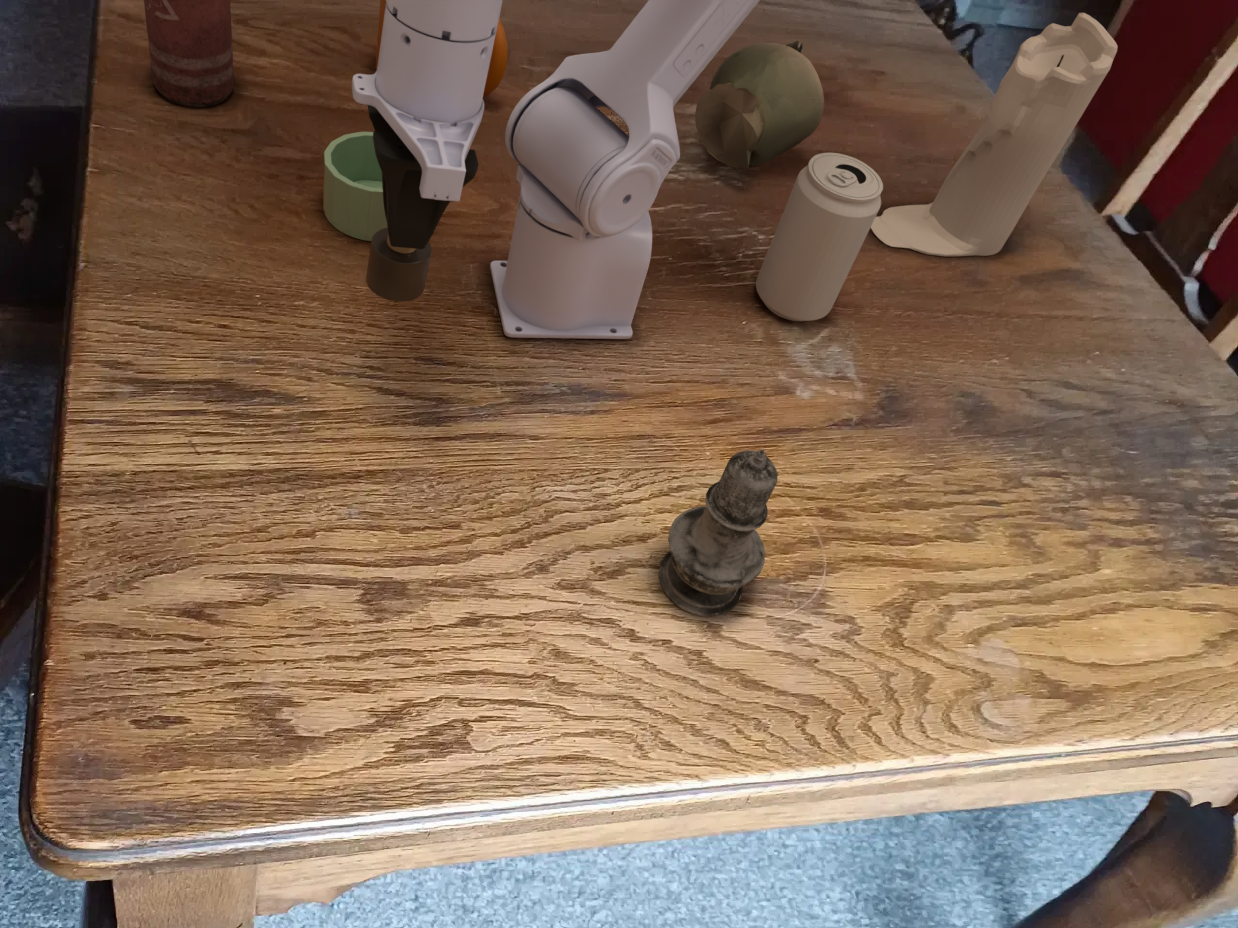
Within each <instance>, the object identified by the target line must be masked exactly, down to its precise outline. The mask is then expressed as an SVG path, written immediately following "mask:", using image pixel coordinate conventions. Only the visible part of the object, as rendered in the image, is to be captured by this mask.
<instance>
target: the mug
mask: <svg viewBox="0 0 1238 928" xmlns="http://www.w3.org/2000/svg"><path fill="white" fill-rule="evenodd" d="M385 6H386V0H380V1H379V12H378V13H379V14H378V29H377V40H376V41H377V43H376V55H375V67H374V68H375V72H376V71H377V66H378V59H379V51H380V44H381V36H382V29H383V21H384V14H385ZM508 54H509V53H508V40H507V36H506V31H505V28H504V26H503V23H502V21H501V19H500V18H499V21H498V26H497V31H496V36H495V40H494V45H493V51H492V55H491V60H490V65H489V70H488V74H487V79H486V84H485V89H484V93H483V98H485V97H487V96H489V95H490V94H492V93H493V92H494V91H495V90H496V89H497V88H498V87H499V86H500V83H501V82H502V80H503V78H504V75H505V72H506V69H507V63H508Z"/></svg>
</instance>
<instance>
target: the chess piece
mask: <svg viewBox="0 0 1238 928" xmlns="http://www.w3.org/2000/svg"><path fill="white" fill-rule="evenodd" d="M778 475H779V474H778V471H777V468H776V466H775V464H774V462H773V461H772V460H771V459H770V458H769V457H767V454H766V452H765V450H764V449H760V450H756V451H755V450H741V451H739V452H737V453H734V454H733V455H732V456H731V457H730V458H729V459H728V462H727V464H726V465H725V467H724V470H723V472H722V474H721V476H720V479H719V481H717V482H715V483H713V484H712V485H711V486H710V487H708V489H707V491H706V493H705V497H704V498H705V499H704V500H705V505H702V506H696V507H691V508H689V509H686V510H684V511H682V512H681V513H680V514H678V516H676V517H675V518H674V520H673V521H672V524H671V525H670V527H669V531H668V537H667V541H668V546H669V551H668V552H667V553H666V554H665V555H664V556H663V558H662V560H661V562H660V564H659V568H658V578H659V583H660V586H661V588H662V590H663V593H664V594H665V595H666V596H667V598H668V599H669V600H670V602H672V603H673V604H674V605H676V606H677V607H678V608H679V609H681V610H683V611H685V612H687V613H688V614H692V615H695V616H698V617H705V618H706V617H708V618H709V617H710V618H714V617H718V616H723V615H725V614H727V613H729V612H730V611H732V610H733V609H735V607H736V606H737V605H738V604H739V602H740V600H741V597H742V596H743V590H744V586H746V585H747V584H749V583H751V582H753V581H754V580H755V579H756V578H757V577H758V576H759V575H760V574H761V573H762V570H763V568H764V566H765V562H766V549H765V546H764V542H763V540H762V539H761V536H760V535H759V533H758V531H757V530H758V529H759V528H761V527H762V526H763V525H764V524H765V522H766V520H767V518H768V511H769V509H768V505H767V503H768V501H769V499H770V497H771V496H772V494H773V491H774V490H775V487H776V486H777V484H778Z"/></svg>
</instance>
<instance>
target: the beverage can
mask: <svg viewBox="0 0 1238 928" xmlns="http://www.w3.org/2000/svg"><path fill="white" fill-rule="evenodd" d="M883 190H884V183H883V181H882V178H881V177H880V175H879V174H878V173H877V171H875V170H874V169H873V168H872V167H871V166H870V165H868V164H866V163H865V162H863V161H862V160H860V159H857V158H855V157H853V156H850V155H847V154H843V153H839V152H822V153H818V154H815V155H813V157H811V158H810V159H809V162H808V164H807V165H806V166H804V167H803V168H802V169H801V170H800V171H799V172H798V174H797V177H796V179H795V182H794V185H793V187H792V190H791V192H790V195H789V197H788V200H787V202H786V204H785V208H784V209H783V212H782V215H781V217H780V219H779V221H778V224H777V227H776V229H775V231H774V235H773V236H772V240H771V242H770V244H769V247H768V250H767V252H766V255H765V257H764V260H763V262H762V265H761V267H760V270H759V272H758V275H757V277H756V280H755V288H756V292H757V295H758V296H759V298H760V299H761V301H762V302H763V304H764V305H765V306H766V308H767V309H768V310H769V311H770V312H771V313H773V314H775V315H776V316H778V317H780V318H782V319H785V320H789V321H791V322H810V321H811V322H813V321H817V320H820V319H822V318H825V317H826V316H827V315H829V313H830V312H831V310H832V309H833V307H834V305H835V302H836V300H837V298H838V296H839V294H840V292H841V291H842V288H843V286H844V283H845V282H846V280H847V277H848V275H849V273H850V271H851V270H852V267H853V265H854V263H855V261H856V259H857V257H858V254H859V252H860V250H861V248H862V246H863V244H864V242H865V240H866V238H867V236H868V234H869V232H870V229H871V225H872V223H873V221H874V219H875V217H877V215H878V213H879V211H880V208H881V205H882V199H881V194H882V192H883Z"/></svg>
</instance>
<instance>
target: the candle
mask: <svg viewBox="0 0 1238 928" xmlns="http://www.w3.org/2000/svg"><path fill="white" fill-rule="evenodd" d="M1117 52H1118V44H1117V42H1116V41H1115V40H1114V38H1113V37H1112V35H1110V34H1109V32H1108V31H1107V30H1106V28H1105V26H1103V25H1102V24H1101V23H1100V22H1099V21H1098V20H1097V19H1095V18H1094V17H1092V16H1091V15H1089V14H1087V13H1085V12H1079V13H1078V14H1077V16H1076V17H1075V19H1074V20H1073V22H1072V24H1071V25H1067V26H1064V25H1061V24H1057V23H1053V22H1052V23H1050V24H1048V25H1047V26H1046V27H1044V29H1043V30H1042V31H1041V33H1040V34H1037V35H1036V36H1031V37H1029V38H1027V39H1025V41H1023V42H1022V43H1021V44H1020V46H1019V48H1018V51H1017V53H1016V56H1015V58H1014V59H1013V62H1012V64H1011V65H1010V67H1009V68H1008V70H1007V72H1006V73H1005V75H1004V76H1003V77H1002V79H1001V80H1000V83H999V85H998V88H997V90H996V93H995V95H994V97H993V98H992V101H991V104H990V106H989V108H988V111H987V113H986V115H985V118H984V120H983V122H982V124H981V126H980V128H979V129H978V130H977V132H976V133H975V135H973V137H972V138H971V140H970V142H969V143H968V145H967V147H966V148H965V149H964V150H963V152H962V154H961V155H960V156H959V158H958V159H957V160H956V162H955V163H954V165H953V167H952V168H951V169H950V171H949V172H948V174H947V176H946V177H945V179H944V181H943V183H942V184H941V186H940V189H939V190H938V192H937V194H936V196H935V197H934V199H933V201H932V202H930V203H928V204H909V205H900V206H891V207H888V208H886V209H885V210H883V212H882V214H881V215H879V216H876V217H875V219H874V221H873V223H872V225H871V227H870V229H871V231H872V232H873V234H874V235H875V236H876V237H877V238H878V239H879V240H880V241H881V242H883V244H885V245H887V246H890V247H893V248H904V249H910V250H913V251H915V252H917V253H918V252H919V253H922V254H925V255H928V256H929V255H930V256H937V257H969V256H985V257H987V256H993V255H996V254H998V253H999V252H1001V251H1002V249H1003V247H1004V245H1005V244H1006V242H1007V240H1008V239H1009V237H1010V236H1011V234H1012V233H1013V231H1014V229H1015V228H1016V225H1017V224H1018V222H1019V220H1020V219H1021V217H1022V215H1023V213H1024V211H1025V210H1026V208H1027V206H1028V204H1029V203H1030V201H1031V200H1032V198H1033V196H1034V194H1035V193H1036V191H1037V189H1038V188H1039V186H1040V184H1041V183H1042V181H1043V179H1044V178H1045V176H1046V175H1047V173H1048V172H1049V170H1050V169H1051V167H1052V166H1053V164H1054V163H1055V161H1056V159H1057V157H1058V156H1059V154H1060V153H1061V151H1062V150H1063V148H1064V146H1065V144H1066V142H1067V141H1068V139H1069V138H1070V136H1071V134H1072V132H1073V131H1074V129H1075V128H1076V126H1077V124H1078V123H1079V121H1080V119H1081V118H1082V116H1083V114H1084V113H1085V111H1086V110H1087V108H1088V106H1089V105H1090V103H1091V101H1092V99H1093V97H1094V96H1095V94H1096V93H1097V91H1098V89H1099V88H1100V86H1101V85H1102V83H1103V81H1104V79H1106V76H1107V75H1108V73H1109V72H1110V70H1111V68H1112V64H1113V61H1114V59H1115V57H1116V54H1117Z"/></svg>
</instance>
